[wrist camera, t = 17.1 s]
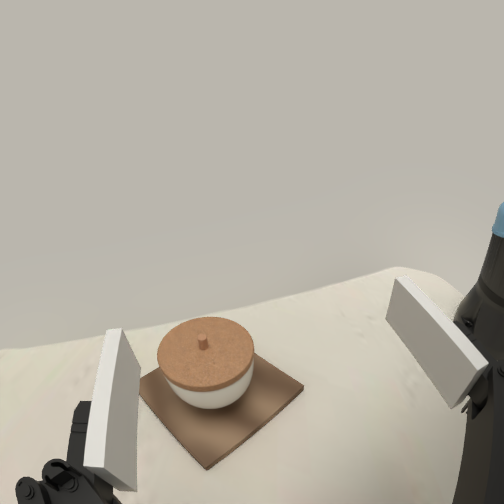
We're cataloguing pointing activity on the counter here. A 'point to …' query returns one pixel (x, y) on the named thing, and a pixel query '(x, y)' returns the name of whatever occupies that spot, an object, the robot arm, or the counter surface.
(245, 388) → the lidded jar
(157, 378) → the walnut board
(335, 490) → the counter surface
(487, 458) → the robot arm
